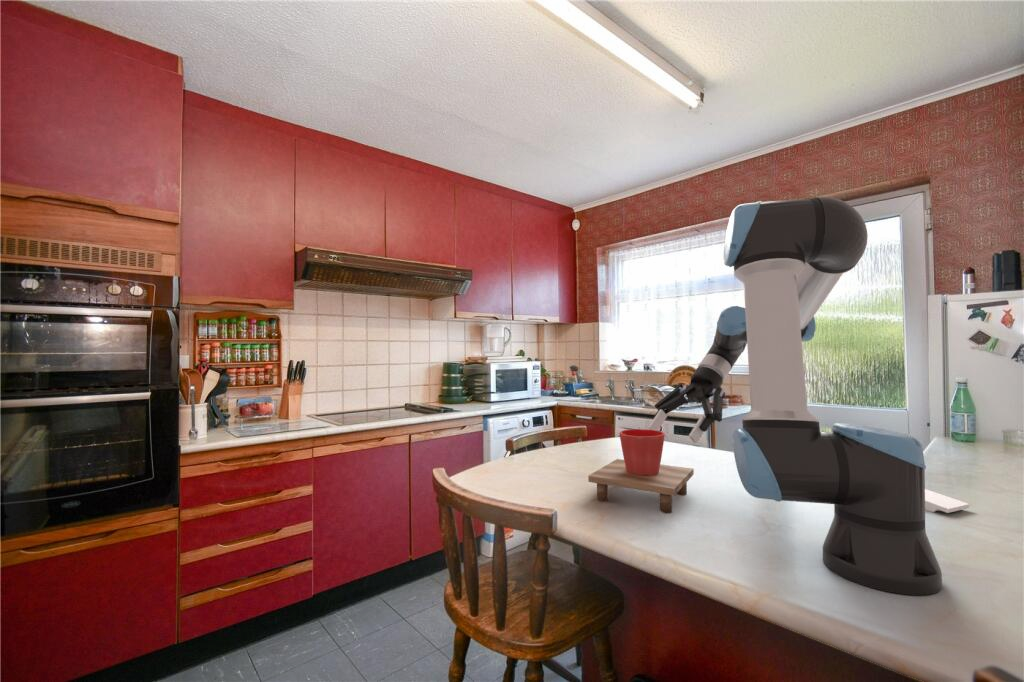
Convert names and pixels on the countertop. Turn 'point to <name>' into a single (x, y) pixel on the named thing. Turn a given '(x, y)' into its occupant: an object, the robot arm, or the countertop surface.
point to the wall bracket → (942, 503)
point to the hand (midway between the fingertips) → (670, 435)
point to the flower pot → (642, 450)
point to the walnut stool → (643, 481)
